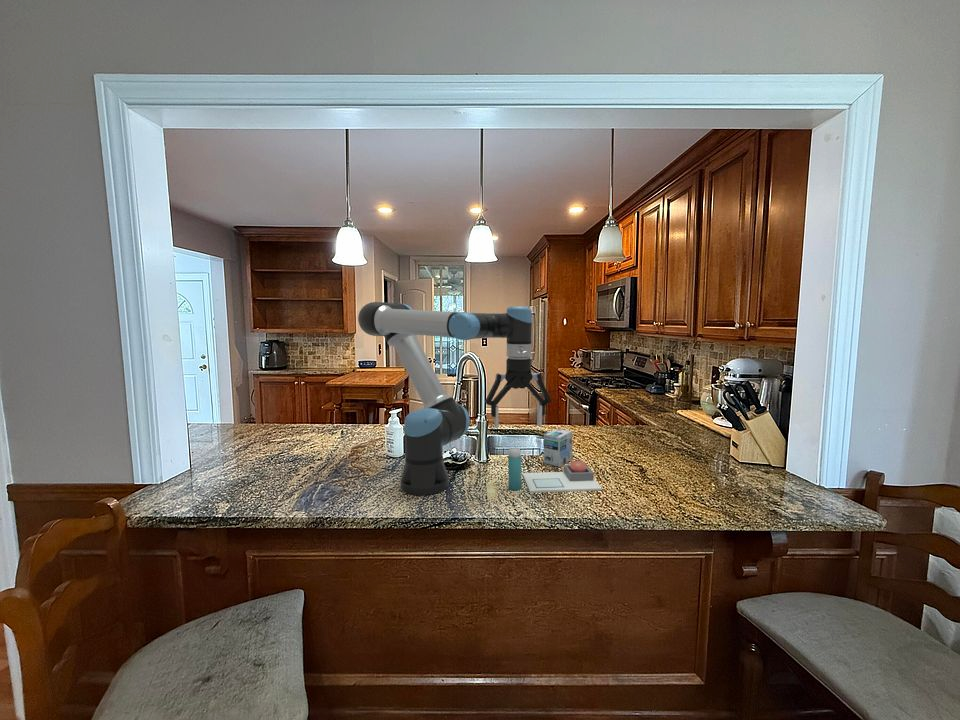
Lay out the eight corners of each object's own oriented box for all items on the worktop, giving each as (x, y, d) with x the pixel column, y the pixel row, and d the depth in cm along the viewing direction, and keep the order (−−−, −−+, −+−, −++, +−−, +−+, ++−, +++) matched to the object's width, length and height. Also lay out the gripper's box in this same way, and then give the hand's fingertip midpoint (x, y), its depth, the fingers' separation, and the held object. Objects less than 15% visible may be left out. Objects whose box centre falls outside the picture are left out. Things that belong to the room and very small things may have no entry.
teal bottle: (509, 490, 120) (509, 452, 119) (507, 485, 124) (507, 447, 123) (522, 490, 120) (522, 451, 119) (520, 484, 124) (520, 447, 123)
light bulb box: (560, 467, 139) (560, 437, 138) (543, 463, 143) (543, 434, 142) (572, 459, 147) (573, 430, 146) (556, 455, 151) (556, 427, 150)
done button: (572, 475, 126) (572, 466, 126) (568, 469, 131) (568, 461, 131) (588, 475, 127) (588, 465, 126) (583, 469, 132) (583, 460, 131)
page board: (530, 492, 118) (530, 483, 118) (522, 474, 132) (522, 466, 132) (602, 490, 120) (602, 480, 119) (587, 472, 133) (587, 464, 133)
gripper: (479, 359, 115) (479, 431, 117) (562, 358, 118) (561, 428, 120) (476, 357, 122) (476, 424, 124) (554, 356, 125) (553, 421, 128)
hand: (518, 426), depth 122 cm, fingers open, 13 cm apart
